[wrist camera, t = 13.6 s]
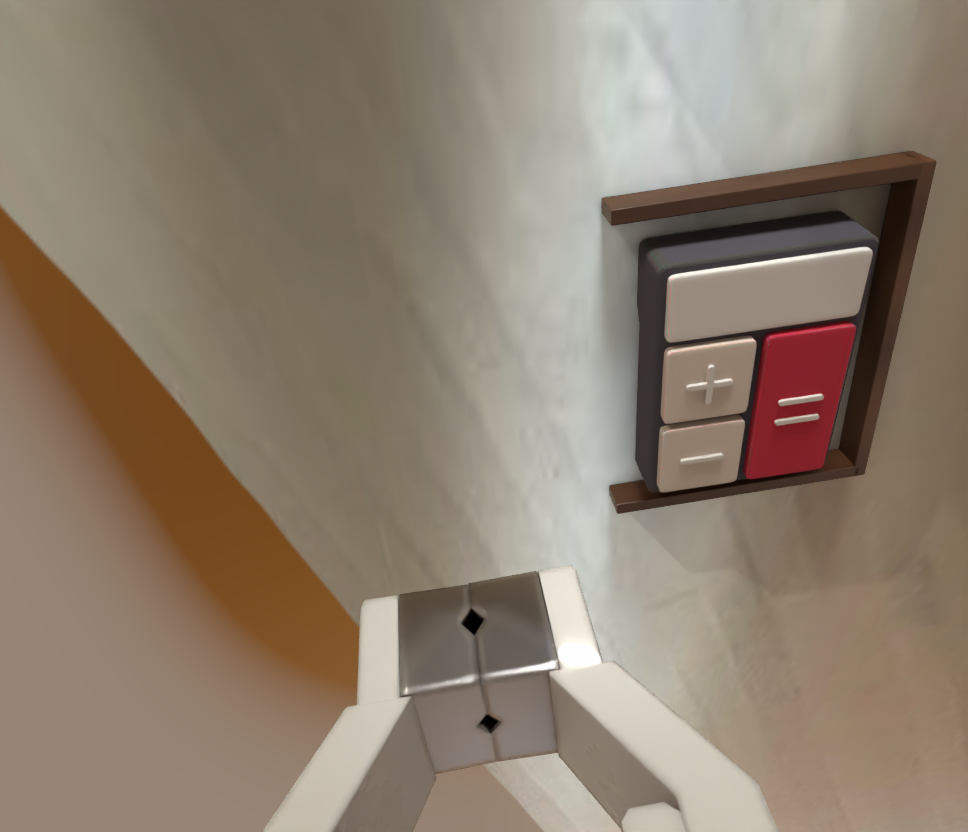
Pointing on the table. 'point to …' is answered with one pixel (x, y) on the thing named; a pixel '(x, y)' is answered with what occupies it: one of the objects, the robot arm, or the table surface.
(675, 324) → the calculator
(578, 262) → the table surface
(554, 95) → the table surface
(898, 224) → the bay
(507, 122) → the table surface
